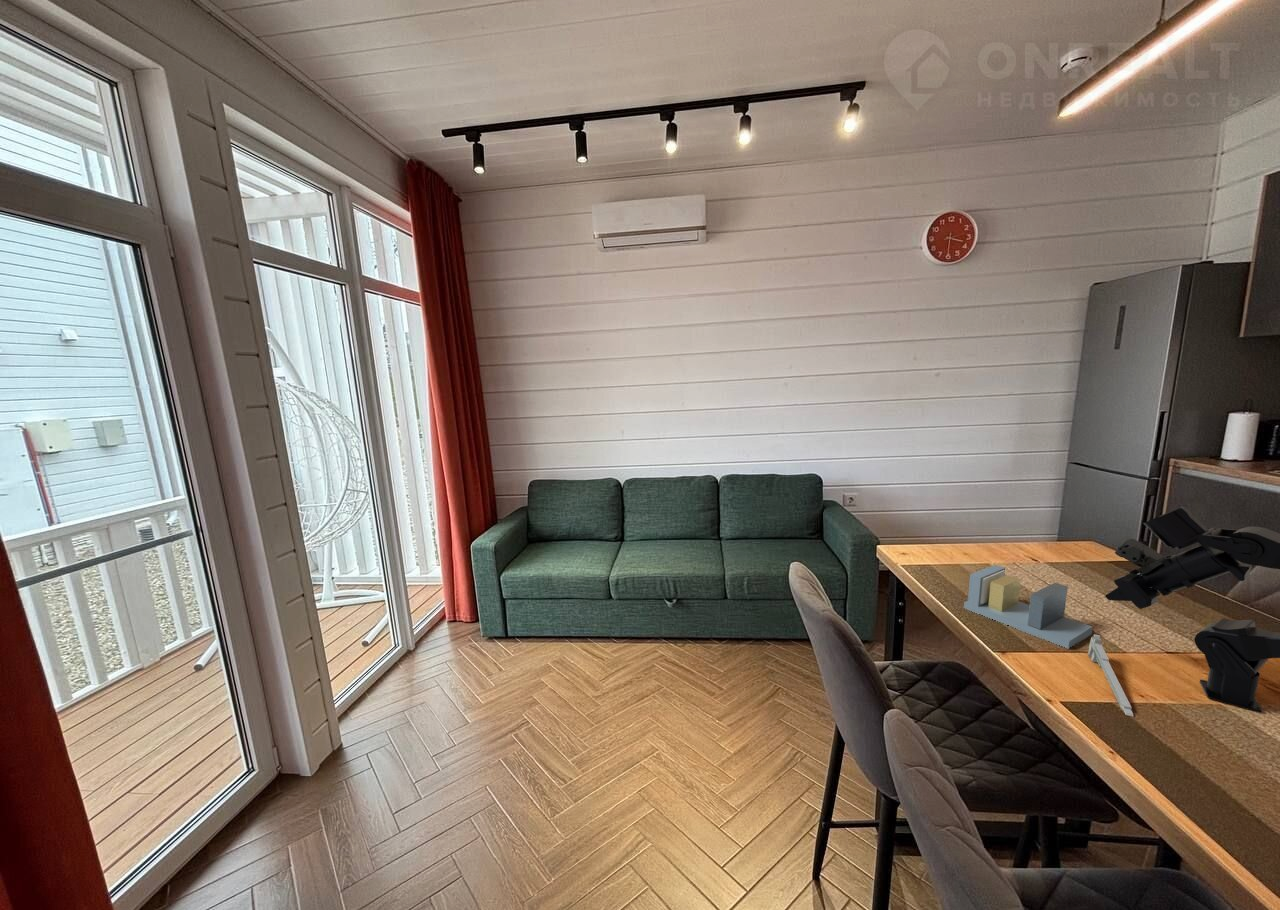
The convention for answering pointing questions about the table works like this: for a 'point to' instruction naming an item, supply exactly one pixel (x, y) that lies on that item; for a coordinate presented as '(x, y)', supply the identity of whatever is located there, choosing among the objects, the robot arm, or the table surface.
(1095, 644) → the caliper
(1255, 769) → the table surface
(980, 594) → the vise
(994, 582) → the pale yellow wooden block
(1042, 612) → the sliding jaw
